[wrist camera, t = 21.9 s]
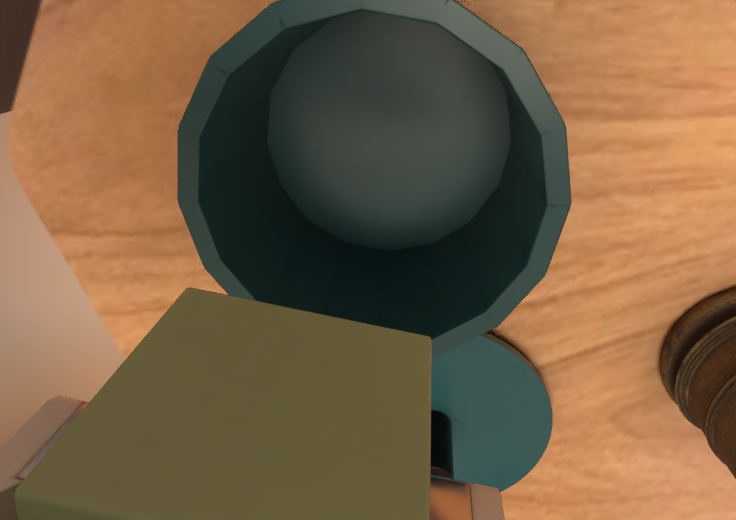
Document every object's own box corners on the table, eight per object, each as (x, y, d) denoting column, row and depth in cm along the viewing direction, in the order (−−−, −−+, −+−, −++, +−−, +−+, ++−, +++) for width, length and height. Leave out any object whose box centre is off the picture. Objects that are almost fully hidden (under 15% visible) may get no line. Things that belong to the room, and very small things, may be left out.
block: (184, 460, 12) (53, 705, 8) (186, 284, 10) (8, 492, 6) (386, 504, 12) (361, 775, 8) (432, 335, 9) (431, 584, 5)
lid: (310, 466, 38) (290, 539, 33) (337, 294, 31) (319, 351, 26) (511, 508, 38) (523, 588, 33) (582, 342, 31) (611, 410, 26)
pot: (245, 273, 32) (176, 375, 23) (271, -109, 23) (176, -169, 14) (471, 319, 31) (486, 439, 23) (584, -51, 23) (676, -79, 14)
